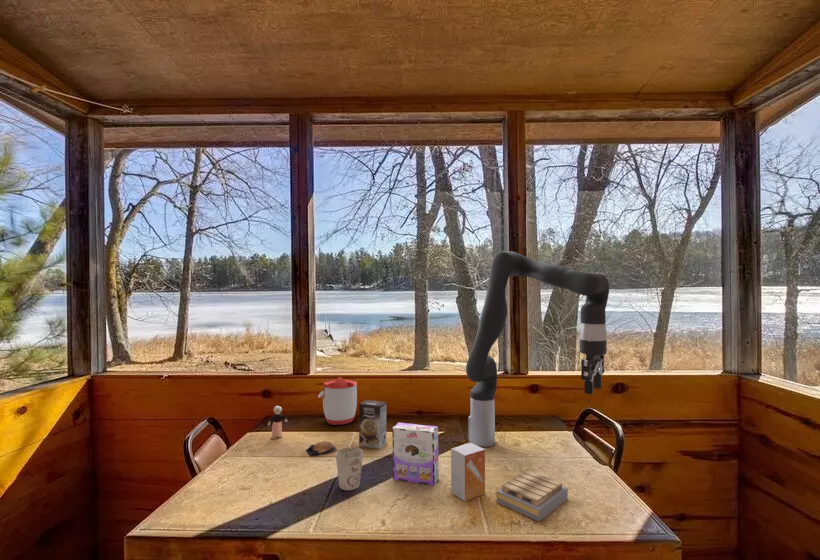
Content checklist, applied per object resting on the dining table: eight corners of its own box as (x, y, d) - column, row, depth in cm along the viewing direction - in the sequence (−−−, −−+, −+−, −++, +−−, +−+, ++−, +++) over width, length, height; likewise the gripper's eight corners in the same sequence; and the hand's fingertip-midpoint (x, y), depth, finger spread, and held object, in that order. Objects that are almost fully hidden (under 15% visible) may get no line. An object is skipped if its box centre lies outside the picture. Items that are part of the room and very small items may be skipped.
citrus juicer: (318, 417, 186) (318, 374, 186) (355, 414, 190) (355, 372, 190) (318, 429, 170) (318, 382, 171) (359, 425, 175) (359, 379, 175)
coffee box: (358, 446, 152) (358, 403, 152) (366, 440, 158) (366, 399, 158) (379, 449, 149) (379, 406, 149) (387, 443, 155) (387, 401, 155)
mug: (340, 495, 116) (340, 460, 117) (328, 477, 127) (328, 445, 128) (367, 488, 120) (367, 454, 120) (353, 471, 131) (353, 440, 132)
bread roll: (330, 445, 155) (330, 435, 155) (339, 452, 148) (339, 442, 148) (303, 451, 149) (303, 441, 149) (311, 459, 142) (311, 448, 142)
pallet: (501, 491, 112) (501, 485, 112) (527, 474, 122) (527, 469, 122) (537, 506, 104) (537, 500, 104) (562, 487, 114) (562, 482, 114)
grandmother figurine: (270, 440, 158) (270, 408, 158) (266, 438, 161) (266, 406, 161) (288, 436, 163) (288, 404, 163) (285, 433, 166) (285, 402, 166)
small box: (465, 502, 112) (464, 455, 112) (450, 492, 117) (450, 448, 118) (486, 493, 117) (485, 448, 117) (471, 484, 122) (470, 442, 122)
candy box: (439, 477, 127) (438, 425, 127) (434, 486, 121) (433, 432, 121) (398, 471, 131) (398, 421, 131) (392, 479, 125) (391, 427, 126)
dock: (495, 501, 112) (495, 491, 112) (526, 482, 123) (526, 472, 123) (538, 521, 103) (538, 510, 103) (567, 498, 114) (567, 488, 114)
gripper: (587, 334, 131) (588, 384, 130) (572, 339, 120) (572, 393, 120) (612, 336, 126) (613, 388, 125) (598, 341, 115) (599, 398, 115)
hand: (593, 390), depth 123 cm, fingers open, 8 cm apart
